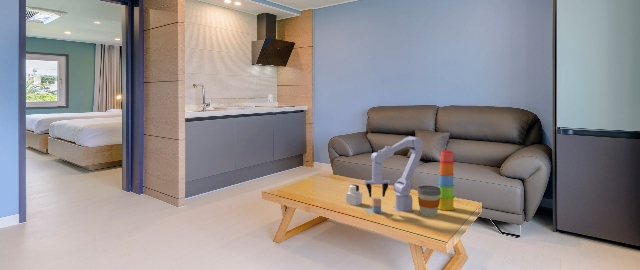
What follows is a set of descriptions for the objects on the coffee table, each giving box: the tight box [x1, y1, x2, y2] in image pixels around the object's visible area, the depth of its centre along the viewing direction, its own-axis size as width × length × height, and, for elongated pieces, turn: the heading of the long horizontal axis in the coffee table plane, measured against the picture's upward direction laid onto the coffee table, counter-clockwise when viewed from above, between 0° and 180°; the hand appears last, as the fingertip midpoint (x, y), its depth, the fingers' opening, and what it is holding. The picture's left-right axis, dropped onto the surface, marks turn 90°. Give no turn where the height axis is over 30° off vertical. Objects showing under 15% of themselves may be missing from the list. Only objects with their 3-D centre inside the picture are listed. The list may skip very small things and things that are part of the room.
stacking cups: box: [437, 150, 456, 211], centre depth 217 cm, size 10×10×35 cm
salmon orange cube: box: [371, 196, 382, 207], centre depth 211 cm, size 4×4×4 cm
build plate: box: [363, 207, 385, 214], centre depth 214 cm, size 10×10×1 cm
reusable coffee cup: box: [417, 185, 441, 217], centre depth 208 cm, size 13×12×15 cm
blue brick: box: [371, 204, 382, 214], centre depth 211 cm, size 4×4×4 cm
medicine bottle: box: [345, 184, 363, 207], centre depth 227 cm, size 7×7×12 cm
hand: (376, 196), depth 210 cm, fingers open, 7 cm apart
